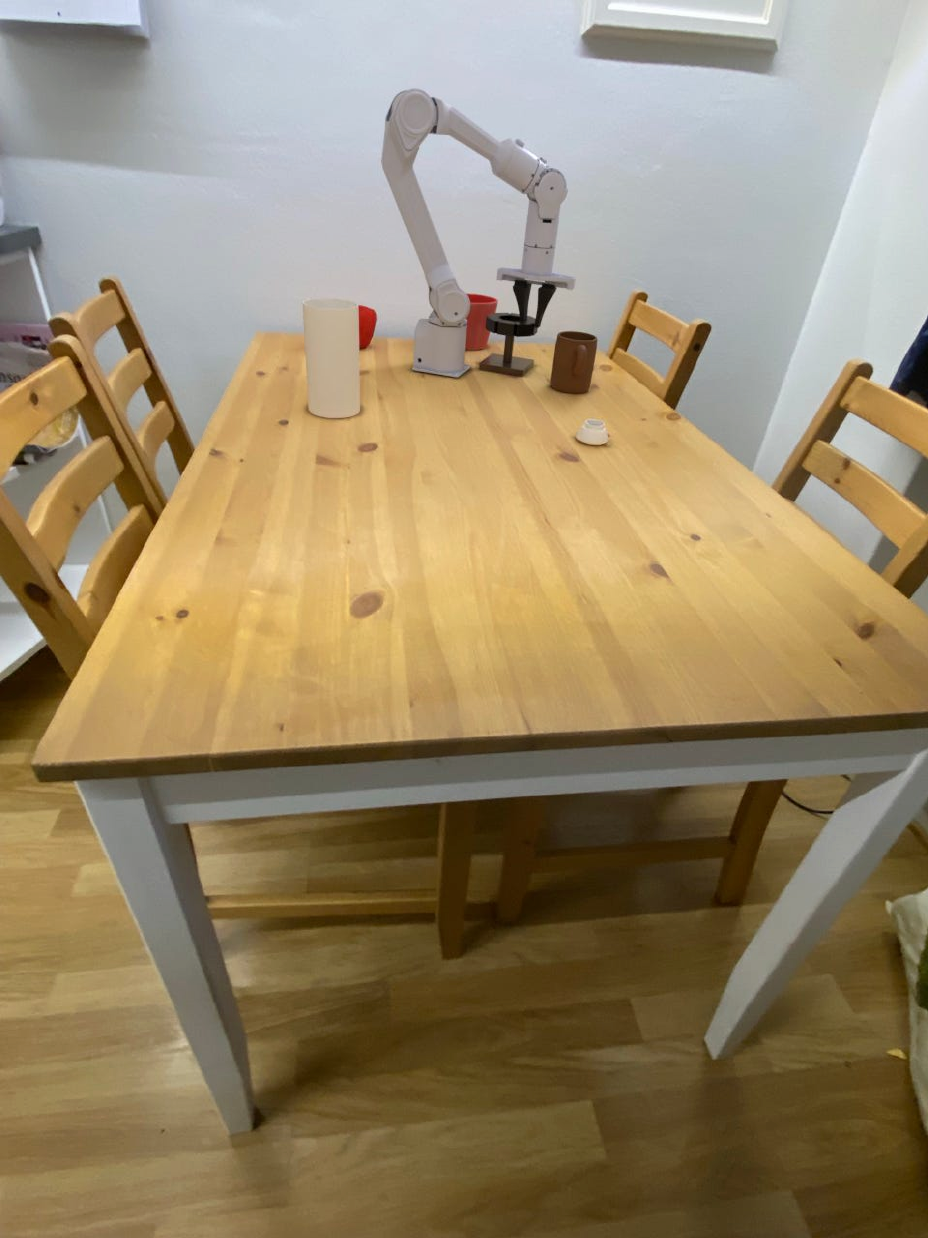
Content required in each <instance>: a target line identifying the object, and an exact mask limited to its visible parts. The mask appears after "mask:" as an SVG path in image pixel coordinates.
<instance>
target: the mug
mask: <svg viewBox="0 0 928 1238" xmlns="http://www.w3.org/2000/svg"><path fill="white" fill-rule="evenodd" d="M598 341H599V340H598V337H597V336H596V335H594V334H592V333H588V332H584V331H577V330H566V331H560V332H558V333H557V335H556V340H555V344H554V350H553V357H552V365H551V373H550V382H549V383H550V387H551V388H553V389H554V390H556V391H558V392H562V393H567V394H583V393H586V392H588V391H589V389H590V388H591V383H592V378H593V372H594V368H595V362H596V361H595V360H596V356H597V351H598Z"/></svg>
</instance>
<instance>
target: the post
mask: <svg viewBox="0 0 928 1238" xmlns="http://www.w3.org/2000/svg"><path fill="white" fill-rule="evenodd" d="M504 337H505V338H504V346H503V354H502V353H495V352H491V353H490V354H489V355H488V356H486V357H485V358H484V359H482V361H480V362H479V365H478V370H481V371H487V372H492V373H498V374H504V375H505V374H506V375H512V376H518V377H524V376H525V375H526V374H527V373H528V372H529V370H531V368H533V367H534V365H535V359H533V358H527V357H520V356H513V355H514V354H513V353H514V345H515V344H514V343H515V337H516V336H513V337H511V336H505V335H504Z"/></svg>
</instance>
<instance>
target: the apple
mask: <svg viewBox="0 0 928 1238" xmlns="http://www.w3.org/2000/svg"><path fill="white" fill-rule="evenodd" d="M358 307H359V349H366V348H368V347H369V346H370V344H371V343H372V340H373V338H374V335H375V332H376V327H377V322H378V316H377V315H378V314H377V312H376V310H375V309H373V308H371V307H369V306H366V305H362V304H358Z"/></svg>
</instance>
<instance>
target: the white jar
mask: <svg viewBox="0 0 928 1238" xmlns="http://www.w3.org/2000/svg"><path fill="white" fill-rule="evenodd" d="M605 426H606V424H605V422H604V421H602V420H599V419H595V418H593V419H586V420H585V421H584V422H583V424H582V425H580V428H579V429H578V430H577V432H576V433H575V439H576V440H578V441H579V442H581V443H583V444H586V445H590V446H600V445H604V444H607V443H608V442H609V440H610V439H609V434H608V431H607V427H605Z"/></svg>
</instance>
